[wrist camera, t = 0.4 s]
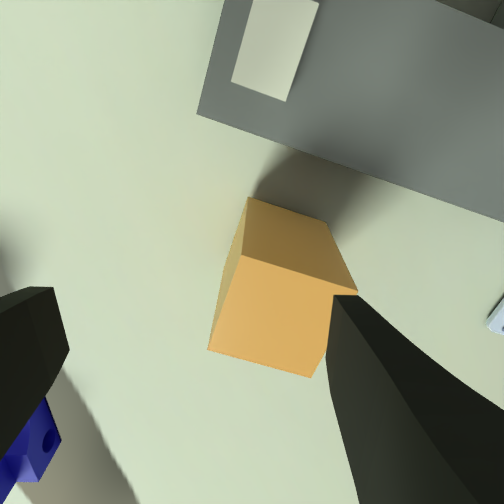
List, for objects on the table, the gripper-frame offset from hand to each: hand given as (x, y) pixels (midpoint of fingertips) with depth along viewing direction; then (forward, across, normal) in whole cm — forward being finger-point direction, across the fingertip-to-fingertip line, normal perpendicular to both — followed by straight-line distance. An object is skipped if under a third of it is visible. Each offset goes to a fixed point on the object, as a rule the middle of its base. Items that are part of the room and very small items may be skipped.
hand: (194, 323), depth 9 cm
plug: (+9, -2, +2) cm, 10 cm away
